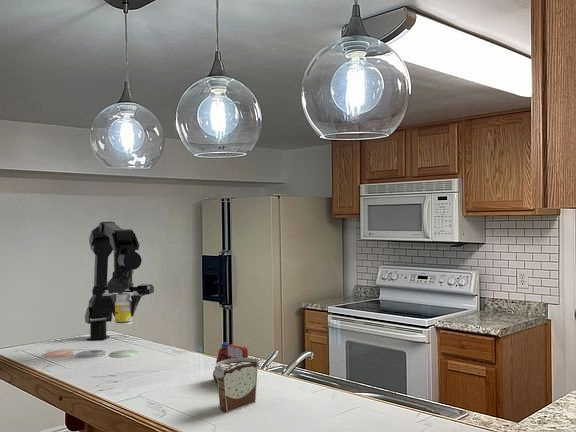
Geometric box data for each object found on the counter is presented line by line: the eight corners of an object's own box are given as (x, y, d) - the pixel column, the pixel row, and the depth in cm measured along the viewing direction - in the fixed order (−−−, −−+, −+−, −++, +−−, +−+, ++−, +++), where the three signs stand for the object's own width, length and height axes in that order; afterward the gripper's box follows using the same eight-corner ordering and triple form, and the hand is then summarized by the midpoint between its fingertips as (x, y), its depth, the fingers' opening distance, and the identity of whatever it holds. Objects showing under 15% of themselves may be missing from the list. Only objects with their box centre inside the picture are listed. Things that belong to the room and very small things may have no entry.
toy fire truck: (229, 376, 163) (229, 338, 163) (257, 385, 153) (256, 344, 153) (208, 381, 158) (207, 342, 158) (235, 390, 149) (234, 349, 149)
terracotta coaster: (51, 352, 199) (50, 350, 199) (77, 352, 199) (77, 349, 199) (38, 358, 190) (38, 356, 190) (66, 358, 190) (66, 355, 190)
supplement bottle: (114, 323, 195) (114, 293, 195) (131, 322, 196) (131, 292, 196) (115, 325, 189) (115, 295, 189) (132, 324, 191) (132, 294, 191)
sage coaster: (115, 352, 197) (115, 350, 197) (142, 352, 197) (142, 350, 197) (105, 358, 188) (105, 356, 188) (133, 358, 188) (133, 356, 188)
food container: (240, 396, 143) (240, 355, 143) (259, 401, 139) (259, 358, 140) (202, 409, 134) (202, 365, 134) (222, 414, 130) (221, 369, 130)
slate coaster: (83, 352, 198) (83, 350, 198) (109, 352, 198) (109, 350, 198) (72, 358, 189) (71, 356, 189) (99, 358, 189) (99, 356, 189)
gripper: (84, 270, 186) (85, 320, 185) (143, 269, 184) (144, 320, 184) (98, 267, 197) (99, 314, 197) (154, 267, 195) (154, 314, 195)
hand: (123, 316), depth 193 cm, fingers closed on supplement bottle, 5 cm apart
